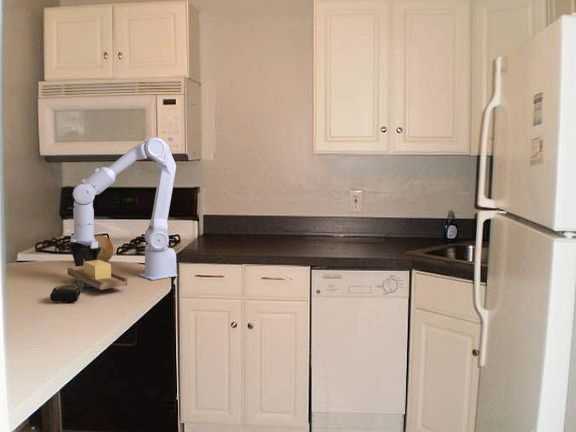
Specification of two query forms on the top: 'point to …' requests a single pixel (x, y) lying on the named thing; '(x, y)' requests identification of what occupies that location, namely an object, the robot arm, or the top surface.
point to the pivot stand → (85, 287)
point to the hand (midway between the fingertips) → (84, 268)
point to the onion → (104, 248)
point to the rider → (97, 269)
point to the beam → (100, 283)
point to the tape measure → (65, 294)
